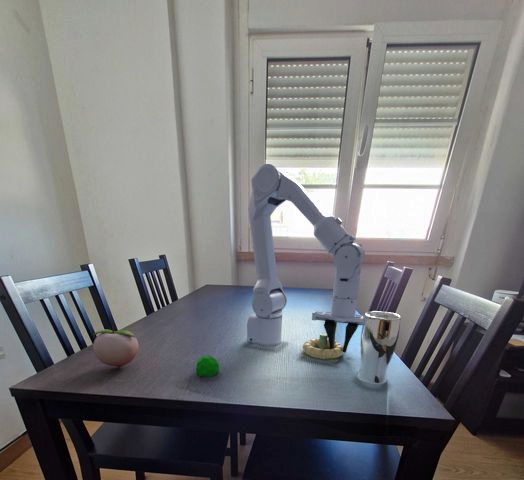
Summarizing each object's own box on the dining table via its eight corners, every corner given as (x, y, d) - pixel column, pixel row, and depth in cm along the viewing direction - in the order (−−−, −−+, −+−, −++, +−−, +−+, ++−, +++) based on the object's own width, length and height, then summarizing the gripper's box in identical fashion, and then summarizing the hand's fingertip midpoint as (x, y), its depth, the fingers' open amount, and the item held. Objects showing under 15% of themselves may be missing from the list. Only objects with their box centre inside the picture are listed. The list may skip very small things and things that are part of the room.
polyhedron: (205, 370, 65) (204, 351, 63) (223, 374, 63) (223, 355, 61) (191, 379, 61) (190, 358, 59) (210, 384, 59) (209, 363, 57)
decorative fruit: (90, 377, 61) (80, 332, 57) (104, 362, 68) (96, 322, 65) (136, 374, 62) (129, 331, 59) (144, 360, 70) (139, 321, 66)
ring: (297, 356, 71) (298, 347, 70) (308, 343, 80) (308, 335, 79) (339, 363, 67) (340, 354, 66) (345, 349, 76) (346, 341, 75)
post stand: (300, 359, 72) (301, 336, 70) (309, 348, 80) (311, 327, 77) (335, 366, 69) (338, 342, 66) (341, 354, 76) (344, 332, 74)
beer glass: (385, 394, 56) (399, 321, 51) (350, 384, 60) (360, 315, 54) (390, 380, 62) (404, 314, 56) (358, 373, 65) (368, 309, 60)
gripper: (310, 296, 66) (306, 350, 71) (376, 302, 61) (366, 360, 66) (317, 292, 72) (313, 342, 77) (377, 297, 67) (369, 350, 72)
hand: (338, 350), depth 72 cm, fingers closed on ring, 3 cm apart
